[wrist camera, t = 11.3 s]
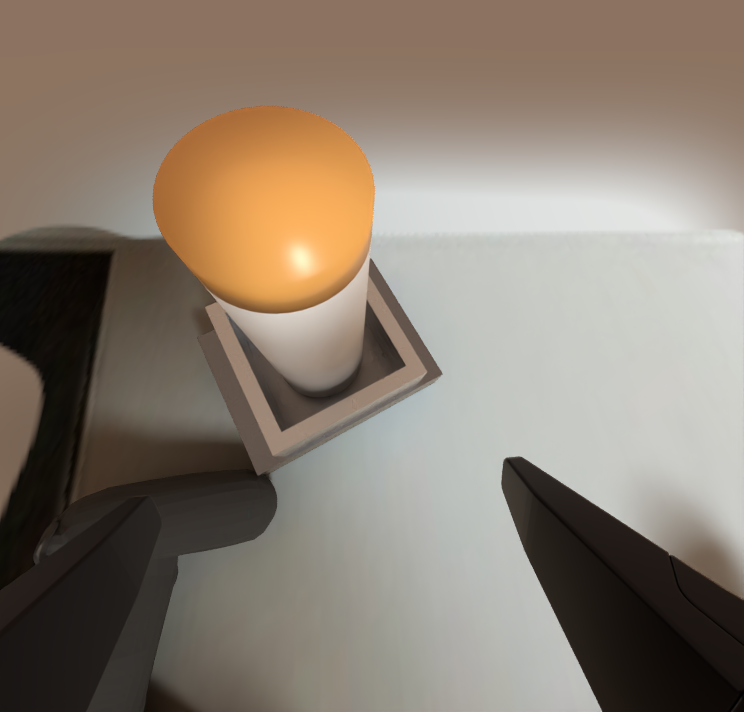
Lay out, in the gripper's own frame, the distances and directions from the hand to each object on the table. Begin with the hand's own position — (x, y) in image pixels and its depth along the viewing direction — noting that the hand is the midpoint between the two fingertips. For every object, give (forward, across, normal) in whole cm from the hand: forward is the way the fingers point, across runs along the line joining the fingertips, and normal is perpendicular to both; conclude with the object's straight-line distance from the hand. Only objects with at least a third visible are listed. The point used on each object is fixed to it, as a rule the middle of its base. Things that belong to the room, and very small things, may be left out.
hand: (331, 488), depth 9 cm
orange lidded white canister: (+12, +2, +2) cm, 13 cm away
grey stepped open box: (+14, +2, +3) cm, 15 cm away
